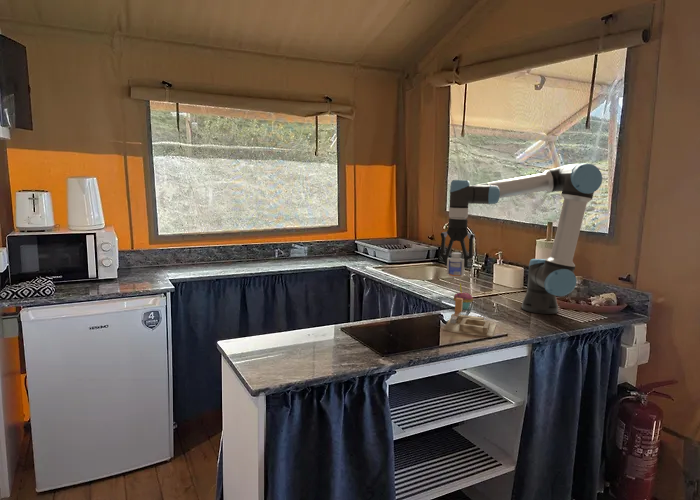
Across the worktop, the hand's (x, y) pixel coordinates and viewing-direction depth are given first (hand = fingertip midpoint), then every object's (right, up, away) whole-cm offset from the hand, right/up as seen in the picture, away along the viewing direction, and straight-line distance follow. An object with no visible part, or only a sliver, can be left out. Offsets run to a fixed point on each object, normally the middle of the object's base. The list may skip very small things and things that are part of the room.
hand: (455, 274), depth 199 cm
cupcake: (+7, -16, +16) cm, 24 cm away
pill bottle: (0, -1, 0) cm, 1 cm away
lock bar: (-3, -17, -12) cm, 21 cm away
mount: (+3, -20, -13) cm, 24 cm away
